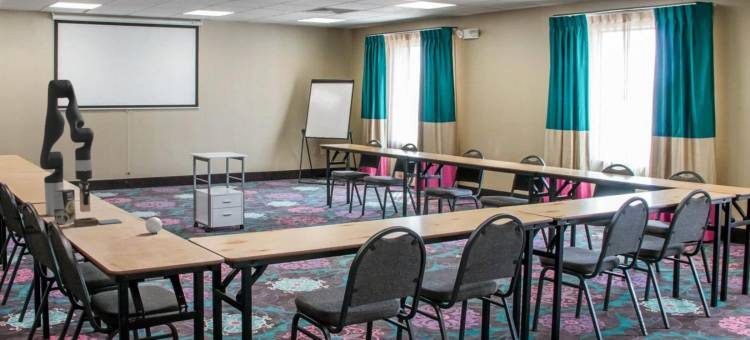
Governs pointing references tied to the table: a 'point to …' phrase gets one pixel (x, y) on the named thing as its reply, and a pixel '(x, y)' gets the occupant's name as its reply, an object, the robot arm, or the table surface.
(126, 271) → the table surface
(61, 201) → the coffee box
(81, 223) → the pocket block
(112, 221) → the pad
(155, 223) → the white sphere
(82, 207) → the peg
